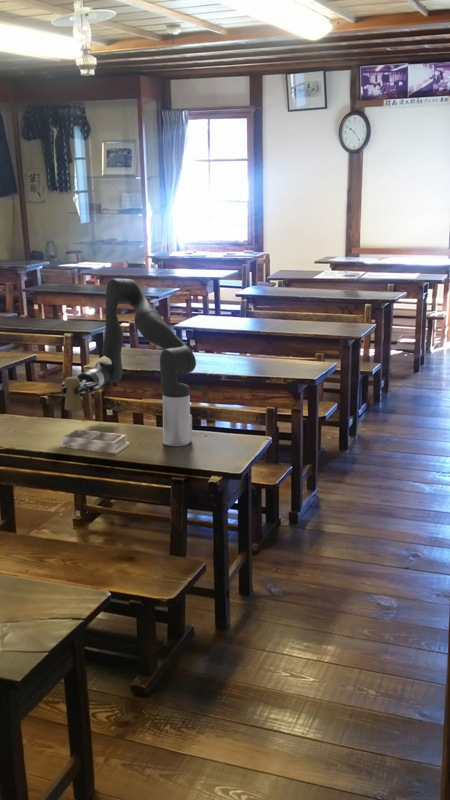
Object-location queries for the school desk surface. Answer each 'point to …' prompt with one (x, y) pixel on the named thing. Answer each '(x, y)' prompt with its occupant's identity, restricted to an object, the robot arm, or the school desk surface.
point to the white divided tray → (95, 441)
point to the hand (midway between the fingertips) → (68, 391)
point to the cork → (72, 394)
